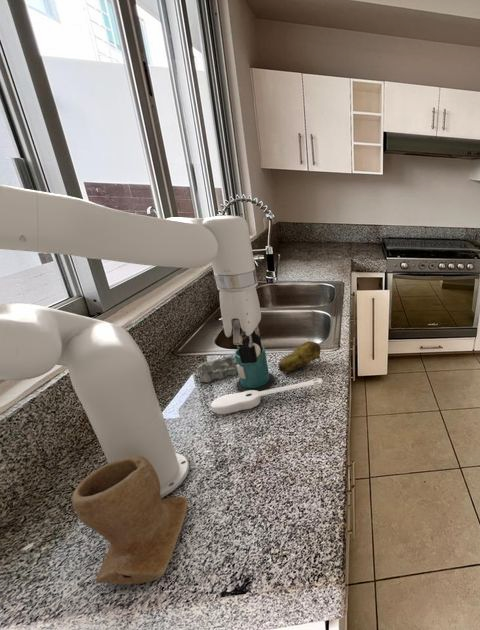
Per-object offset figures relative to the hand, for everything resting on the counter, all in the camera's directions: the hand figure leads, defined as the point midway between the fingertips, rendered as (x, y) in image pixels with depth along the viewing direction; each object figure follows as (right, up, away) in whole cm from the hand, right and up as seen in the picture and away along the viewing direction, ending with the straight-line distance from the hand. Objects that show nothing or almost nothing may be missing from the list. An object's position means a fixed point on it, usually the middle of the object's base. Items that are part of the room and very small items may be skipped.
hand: (252, 356), depth 77 cm
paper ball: (0, +1, -1) cm, 2 cm away
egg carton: (-24, -9, +28) cm, 38 cm away
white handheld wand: (-3, -14, +17) cm, 22 cm away
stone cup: (-9, -29, -20) cm, 36 cm away
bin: (-11, -11, +24) cm, 28 cm away
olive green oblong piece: (0, -8, +33) cm, 33 cm away
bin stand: (-11, -11, +24) cm, 28 cm away
